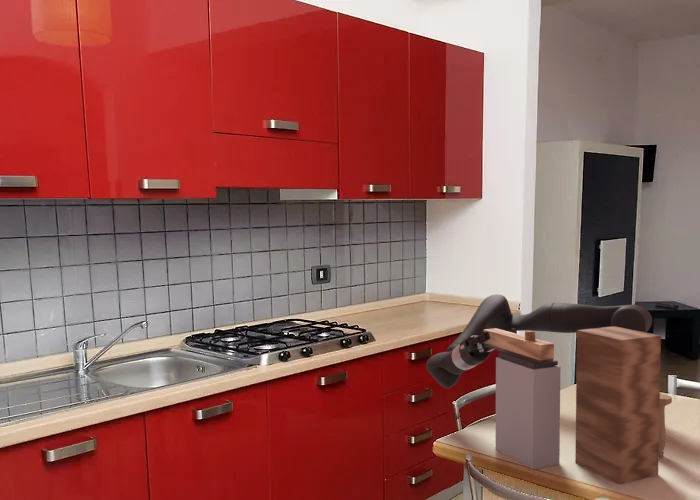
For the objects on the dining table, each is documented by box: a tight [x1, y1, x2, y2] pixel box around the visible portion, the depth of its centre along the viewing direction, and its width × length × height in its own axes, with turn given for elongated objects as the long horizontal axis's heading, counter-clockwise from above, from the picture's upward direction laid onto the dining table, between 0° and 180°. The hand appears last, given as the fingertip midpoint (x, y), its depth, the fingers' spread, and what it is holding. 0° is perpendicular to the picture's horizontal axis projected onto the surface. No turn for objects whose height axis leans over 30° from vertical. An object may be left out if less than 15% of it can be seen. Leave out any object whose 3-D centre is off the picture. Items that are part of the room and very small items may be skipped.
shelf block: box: [574, 326, 662, 485], centre depth 139 cm, size 12×13×32 cm
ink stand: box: [495, 351, 561, 470], centre depth 147 cm, size 8×14×25 cm, turn 23°
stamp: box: [484, 328, 555, 364], centre depth 150 cm, size 4×22×6 cm, turn 23°
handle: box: [659, 393, 673, 459], centre depth 146 cm, size 5×6×15 cm
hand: (501, 333), depth 155 cm, fingers open, 8 cm apart
